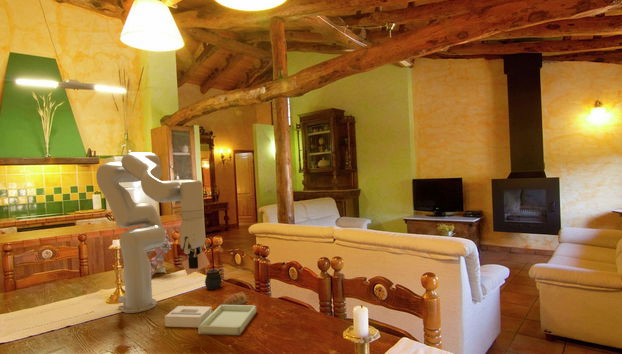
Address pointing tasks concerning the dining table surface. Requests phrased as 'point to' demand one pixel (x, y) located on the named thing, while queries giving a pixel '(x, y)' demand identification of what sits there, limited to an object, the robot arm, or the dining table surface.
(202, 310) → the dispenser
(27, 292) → the dining table surface
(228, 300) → the pastry
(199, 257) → the tan flat block
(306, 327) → the dining table surface
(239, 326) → the tray
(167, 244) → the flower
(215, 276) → the mate gourd
